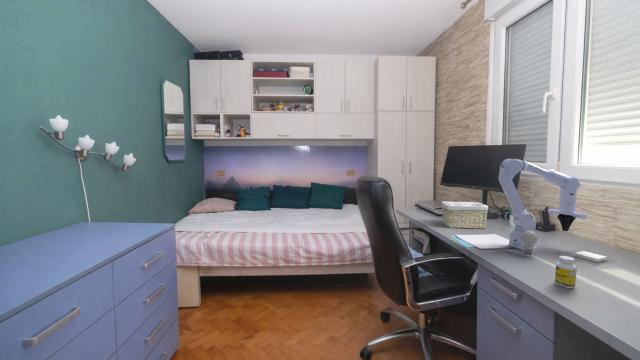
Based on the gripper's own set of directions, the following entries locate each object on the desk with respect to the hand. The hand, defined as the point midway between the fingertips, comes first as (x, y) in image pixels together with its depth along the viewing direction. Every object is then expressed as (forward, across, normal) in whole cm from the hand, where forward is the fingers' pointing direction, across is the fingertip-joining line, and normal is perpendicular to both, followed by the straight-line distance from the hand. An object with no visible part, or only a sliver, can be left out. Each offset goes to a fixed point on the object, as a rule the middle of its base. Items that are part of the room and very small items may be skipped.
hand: (565, 230), depth 133 cm
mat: (+9, -10, +4) cm, 14 cm away
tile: (+8, -8, +4) cm, 12 cm away
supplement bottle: (+10, -23, +42) cm, 49 cm away
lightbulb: (+10, +2, +22) cm, 24 cm away
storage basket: (+10, +53, +6) cm, 54 cm away
